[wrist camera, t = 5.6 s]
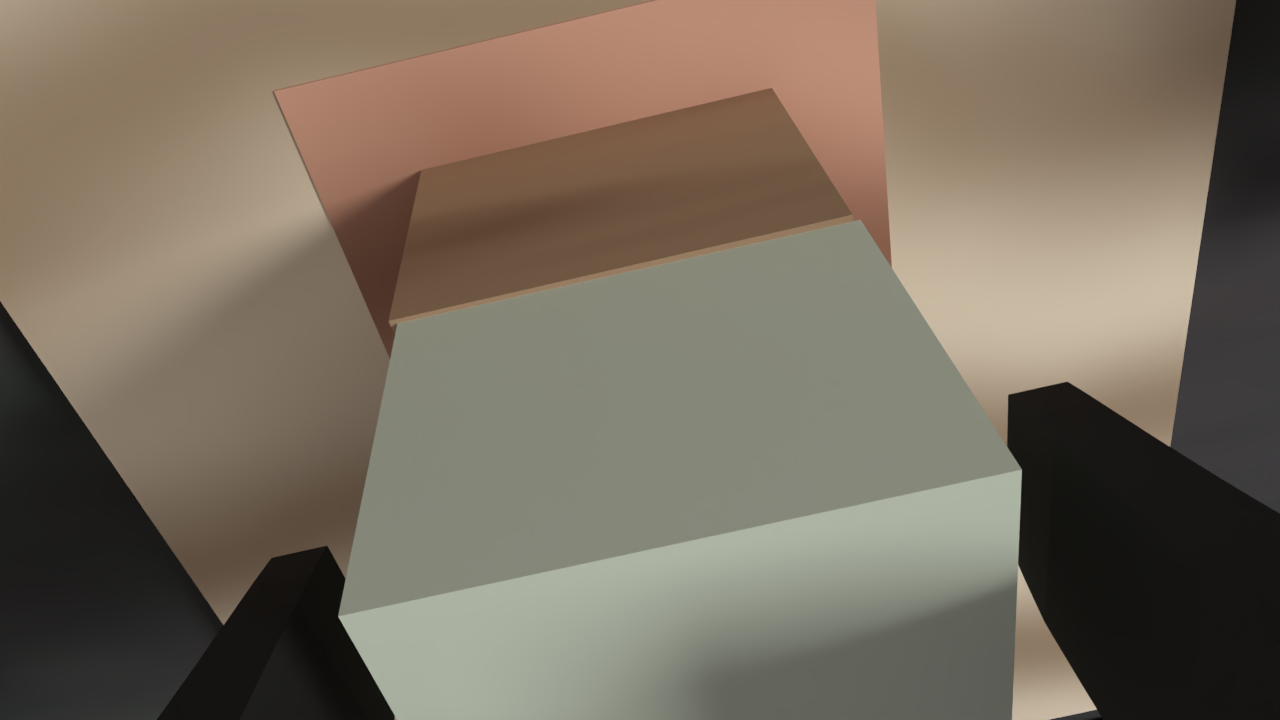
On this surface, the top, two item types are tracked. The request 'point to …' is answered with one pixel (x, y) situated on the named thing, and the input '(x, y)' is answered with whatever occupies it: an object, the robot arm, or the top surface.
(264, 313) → the build board
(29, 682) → the top surface
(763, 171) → the walnut block
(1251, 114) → the top surface
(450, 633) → the sage block
